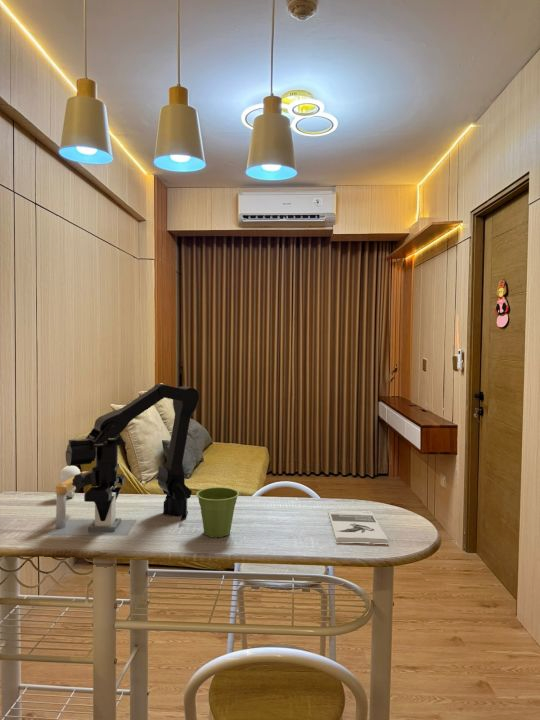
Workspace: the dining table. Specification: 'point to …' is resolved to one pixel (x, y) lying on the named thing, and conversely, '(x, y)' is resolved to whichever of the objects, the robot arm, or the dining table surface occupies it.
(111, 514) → the plug
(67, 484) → the bar
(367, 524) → the book
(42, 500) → the dining table surface
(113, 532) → the socket board
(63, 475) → the light bulb
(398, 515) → the dining table surface
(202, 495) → the plant pot
